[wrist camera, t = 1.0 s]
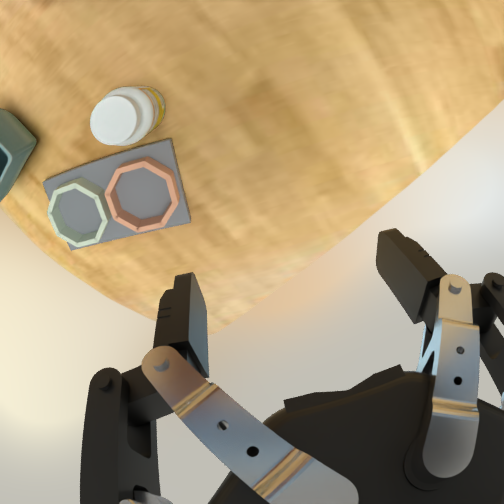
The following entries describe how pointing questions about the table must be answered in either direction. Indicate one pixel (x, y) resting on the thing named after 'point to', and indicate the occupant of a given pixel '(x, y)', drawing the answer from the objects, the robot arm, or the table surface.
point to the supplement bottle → (127, 115)
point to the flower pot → (12, 150)
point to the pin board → (118, 196)
